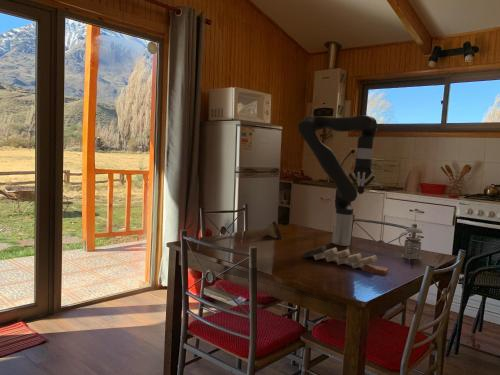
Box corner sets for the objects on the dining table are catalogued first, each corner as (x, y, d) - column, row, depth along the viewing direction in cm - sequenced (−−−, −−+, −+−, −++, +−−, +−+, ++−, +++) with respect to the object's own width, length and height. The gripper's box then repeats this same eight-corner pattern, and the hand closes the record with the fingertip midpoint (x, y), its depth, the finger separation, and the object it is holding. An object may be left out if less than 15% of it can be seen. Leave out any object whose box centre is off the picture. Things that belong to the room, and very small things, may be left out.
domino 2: (313, 255, 185) (332, 249, 180) (316, 253, 189) (336, 247, 184) (315, 260, 184) (334, 254, 180) (318, 258, 189) (338, 252, 184)
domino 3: (325, 257, 182) (345, 250, 178) (328, 255, 187) (348, 248, 182) (327, 262, 182) (347, 255, 178) (330, 260, 187) (350, 253, 182)
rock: (262, 230, 233) (264, 231, 223) (271, 219, 234) (273, 220, 224) (276, 242, 233) (278, 244, 223) (285, 231, 234) (288, 232, 224)
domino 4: (336, 259, 180) (357, 255, 175) (339, 257, 184) (360, 253, 179) (337, 264, 180) (358, 260, 175) (341, 262, 184) (361, 258, 179)
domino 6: (361, 266, 173) (385, 270, 168) (364, 263, 177) (388, 268, 172) (361, 271, 173) (384, 276, 168) (364, 268, 178) (387, 273, 173)
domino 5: (351, 263, 175) (371, 257, 170) (355, 260, 179) (375, 254, 174) (353, 268, 175) (373, 262, 169) (357, 265, 179) (377, 260, 173)
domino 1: (302, 253, 187) (321, 247, 183) (306, 251, 192) (325, 245, 187) (304, 258, 187) (323, 252, 182) (308, 256, 191) (327, 250, 187)
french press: (423, 261, 196) (429, 210, 194) (398, 258, 198) (404, 208, 196) (419, 256, 206) (424, 208, 203) (395, 253, 208) (400, 206, 206)
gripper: (348, 156, 192) (344, 192, 193) (376, 158, 185) (372, 196, 187) (352, 157, 198) (349, 191, 200) (379, 159, 192) (376, 194, 193)
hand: (360, 193), depth 193 cm, fingers closed
